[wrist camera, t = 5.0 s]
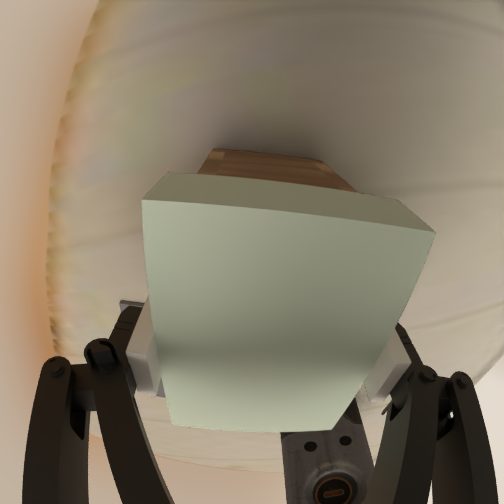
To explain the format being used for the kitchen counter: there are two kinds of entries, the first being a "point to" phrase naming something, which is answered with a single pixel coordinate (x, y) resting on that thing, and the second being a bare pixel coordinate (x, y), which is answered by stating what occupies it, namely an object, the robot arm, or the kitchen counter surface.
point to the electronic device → (328, 462)
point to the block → (273, 296)
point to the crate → (272, 168)
